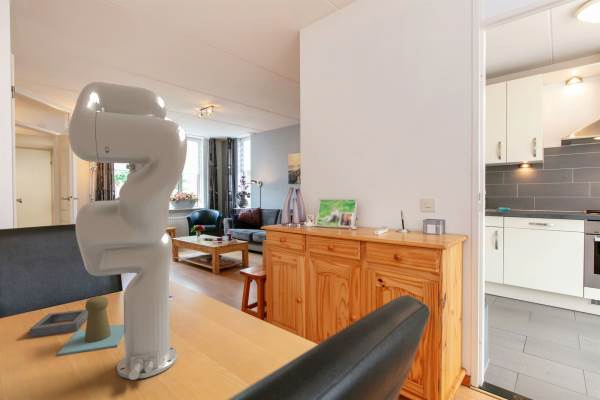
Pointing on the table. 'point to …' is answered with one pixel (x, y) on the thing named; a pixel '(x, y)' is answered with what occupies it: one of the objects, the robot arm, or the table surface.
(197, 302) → the table surface
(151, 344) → the robot arm
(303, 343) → the table surface
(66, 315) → the square socket
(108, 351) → the table surface
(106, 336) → the cork
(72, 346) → the rubber mat
